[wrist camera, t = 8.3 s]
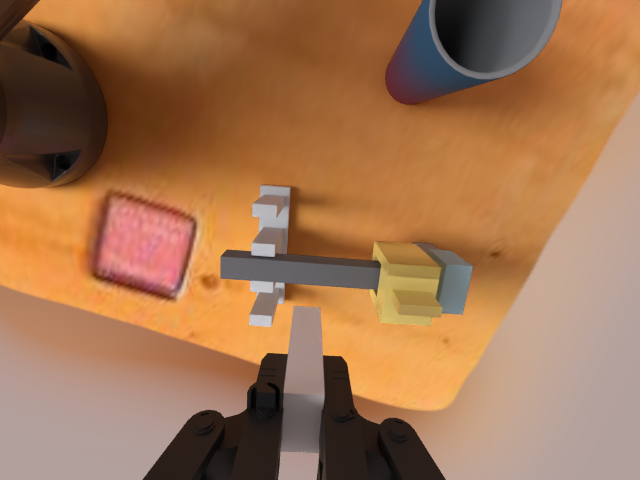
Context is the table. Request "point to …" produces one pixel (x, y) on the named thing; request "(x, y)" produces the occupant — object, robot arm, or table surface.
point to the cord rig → (319, 264)
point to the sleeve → (405, 284)
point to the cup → (467, 45)
